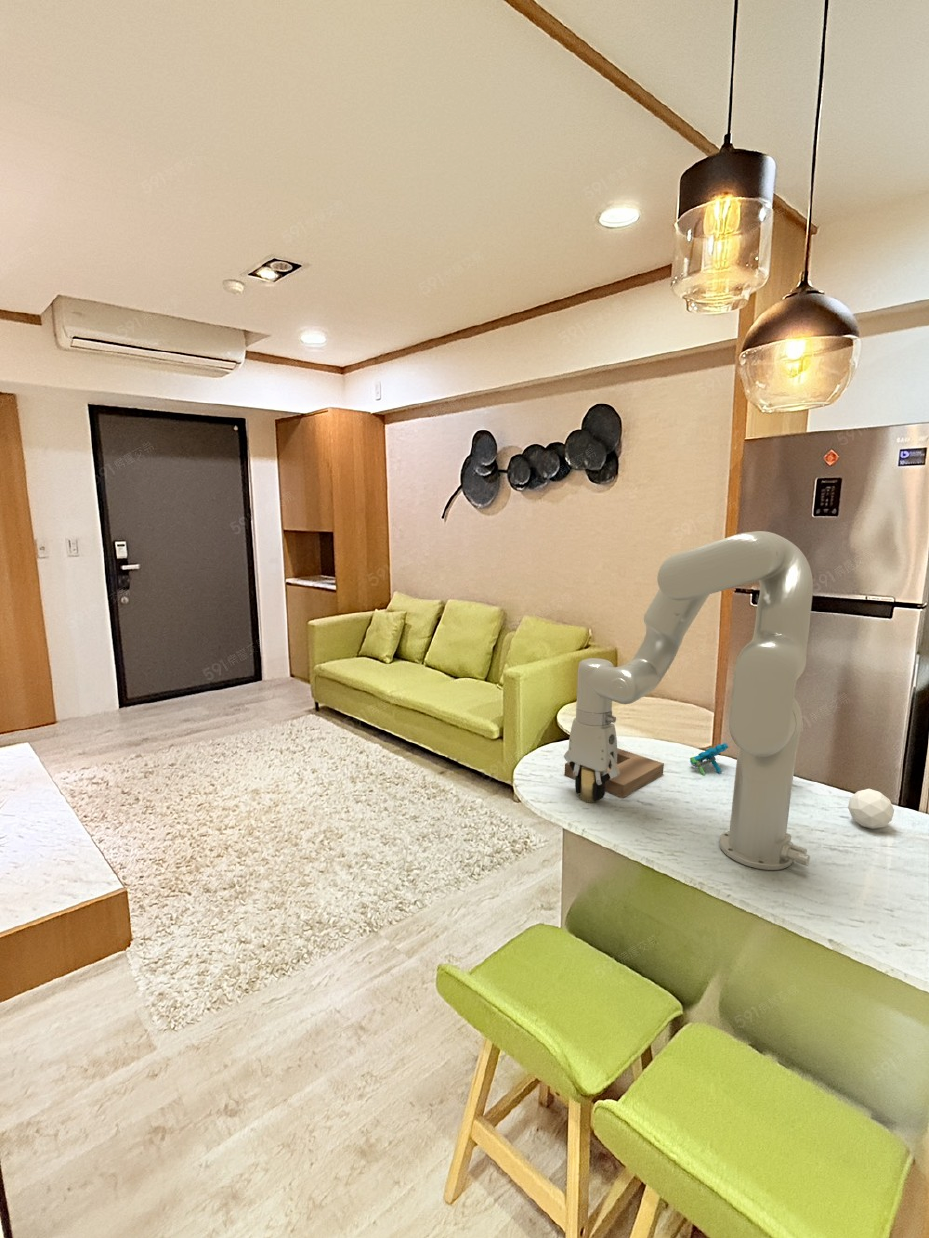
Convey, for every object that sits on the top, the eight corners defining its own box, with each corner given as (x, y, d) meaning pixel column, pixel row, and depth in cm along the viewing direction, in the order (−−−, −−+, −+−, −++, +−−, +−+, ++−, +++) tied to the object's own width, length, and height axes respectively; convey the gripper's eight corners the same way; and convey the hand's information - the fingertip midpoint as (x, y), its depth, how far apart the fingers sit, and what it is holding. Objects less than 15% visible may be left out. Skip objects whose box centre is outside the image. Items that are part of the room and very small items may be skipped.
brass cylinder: (602, 798, 138) (603, 768, 137) (591, 804, 135) (593, 773, 134) (586, 792, 141) (588, 763, 139) (576, 798, 138) (577, 768, 137)
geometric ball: (877, 842, 127) (896, 826, 121) (836, 819, 131) (853, 802, 125) (886, 814, 131) (906, 797, 125) (847, 793, 135) (864, 775, 129)
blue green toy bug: (711, 752, 161) (733, 736, 153) (724, 774, 159) (746, 758, 151) (678, 764, 157) (698, 748, 149) (690, 786, 155) (711, 771, 147)
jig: (663, 775, 151) (663, 763, 151) (622, 797, 139) (623, 785, 138) (606, 755, 162) (606, 744, 162) (564, 775, 150) (564, 763, 149)
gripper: (637, 721, 131) (632, 803, 134) (572, 703, 143) (568, 778, 146) (617, 730, 126) (612, 814, 129) (551, 710, 138) (548, 788, 141)
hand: (589, 794), depth 138 cm, fingers closed on brass cylinder, 4 cm apart
